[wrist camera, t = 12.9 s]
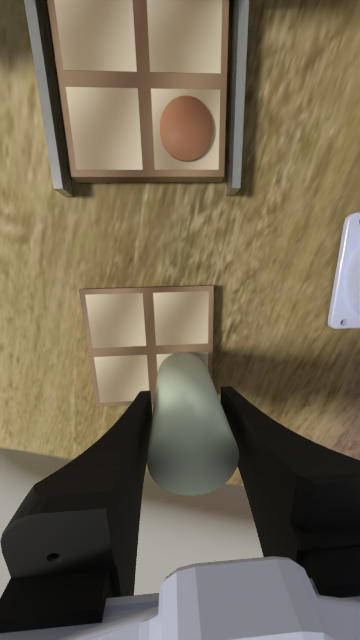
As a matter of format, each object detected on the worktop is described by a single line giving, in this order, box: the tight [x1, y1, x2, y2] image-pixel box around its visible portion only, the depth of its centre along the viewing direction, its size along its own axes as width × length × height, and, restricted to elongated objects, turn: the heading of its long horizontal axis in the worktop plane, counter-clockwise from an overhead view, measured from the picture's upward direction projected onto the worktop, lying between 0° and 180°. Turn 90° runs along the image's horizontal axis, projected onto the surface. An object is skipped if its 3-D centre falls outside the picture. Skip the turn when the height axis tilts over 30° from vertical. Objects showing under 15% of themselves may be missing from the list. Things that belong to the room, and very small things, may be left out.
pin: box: [147, 352, 239, 496], centre depth 11 cm, size 4×4×7 cm
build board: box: [79, 285, 214, 407], centre depth 15 cm, size 9×9×1 cm
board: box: [47, 0, 229, 183], centre depth 11 cm, size 9×9×1 cm
